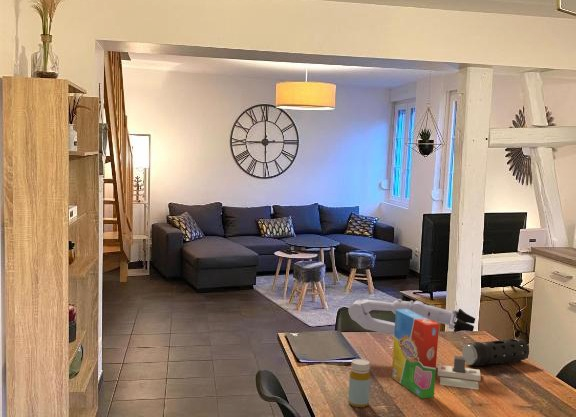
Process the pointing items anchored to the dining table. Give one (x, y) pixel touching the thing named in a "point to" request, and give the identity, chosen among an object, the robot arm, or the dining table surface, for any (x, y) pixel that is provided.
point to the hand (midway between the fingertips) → (474, 324)
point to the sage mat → (459, 383)
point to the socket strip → (468, 373)
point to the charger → (459, 364)
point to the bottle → (359, 383)
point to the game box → (415, 352)
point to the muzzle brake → (495, 352)
